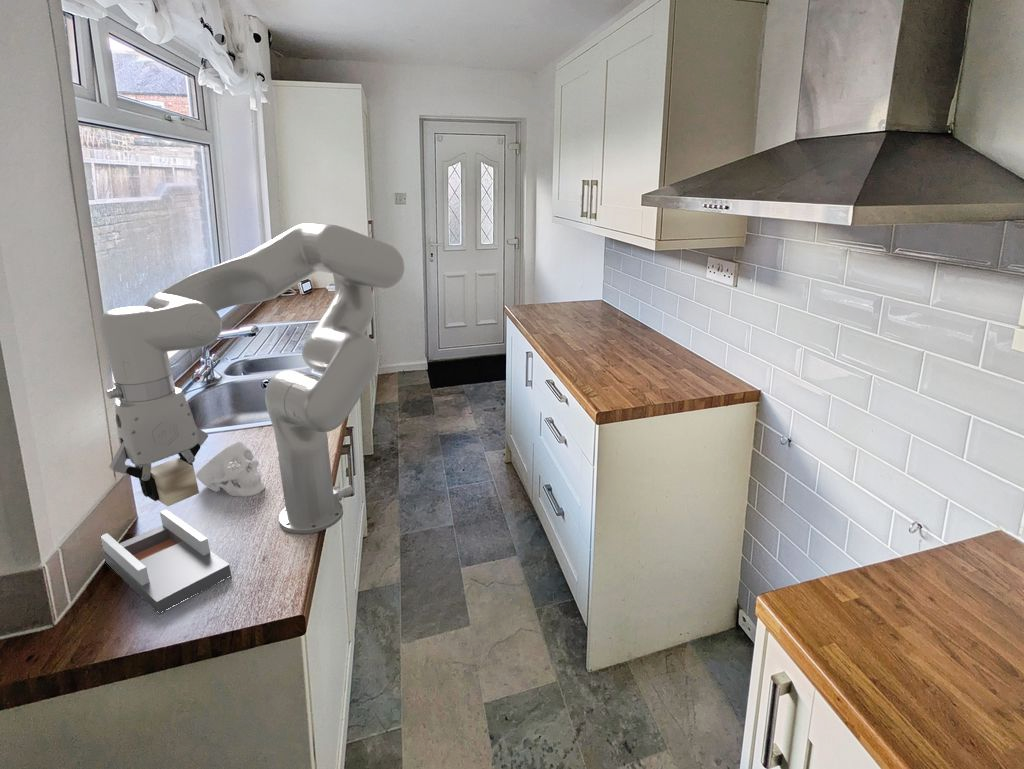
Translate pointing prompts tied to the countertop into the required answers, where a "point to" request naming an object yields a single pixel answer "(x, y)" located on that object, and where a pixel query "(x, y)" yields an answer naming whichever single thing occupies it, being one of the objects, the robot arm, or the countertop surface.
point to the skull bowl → (233, 471)
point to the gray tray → (166, 562)
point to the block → (174, 481)
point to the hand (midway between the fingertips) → (171, 489)
